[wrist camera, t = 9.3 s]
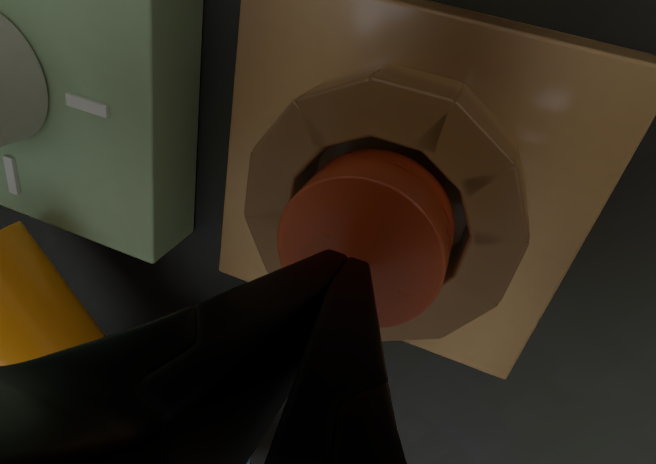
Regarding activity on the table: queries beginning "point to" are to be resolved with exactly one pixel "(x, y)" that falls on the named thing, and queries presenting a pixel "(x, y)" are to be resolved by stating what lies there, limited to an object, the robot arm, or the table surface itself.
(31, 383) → the robot arm
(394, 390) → the table surface
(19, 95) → the dial
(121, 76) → the dial panel
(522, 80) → the button block
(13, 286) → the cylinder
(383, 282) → the top button
